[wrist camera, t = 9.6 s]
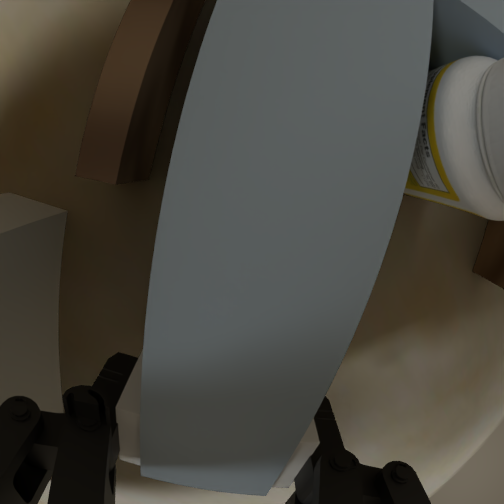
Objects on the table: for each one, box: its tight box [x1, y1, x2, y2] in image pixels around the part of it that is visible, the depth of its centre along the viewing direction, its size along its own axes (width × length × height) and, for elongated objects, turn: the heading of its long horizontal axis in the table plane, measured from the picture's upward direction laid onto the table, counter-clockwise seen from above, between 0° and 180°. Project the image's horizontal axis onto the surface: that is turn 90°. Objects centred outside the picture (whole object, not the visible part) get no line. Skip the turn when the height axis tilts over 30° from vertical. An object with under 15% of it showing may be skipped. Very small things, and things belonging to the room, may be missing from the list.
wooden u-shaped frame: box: [75, 0, 504, 289], centre depth 9 cm, size 15×20×4 cm
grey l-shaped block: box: [140, 0, 504, 496], centre depth 9 cm, size 17×12×7 cm
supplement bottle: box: [403, 56, 504, 221], centre depth 8 cm, size 5×5×8 cm
